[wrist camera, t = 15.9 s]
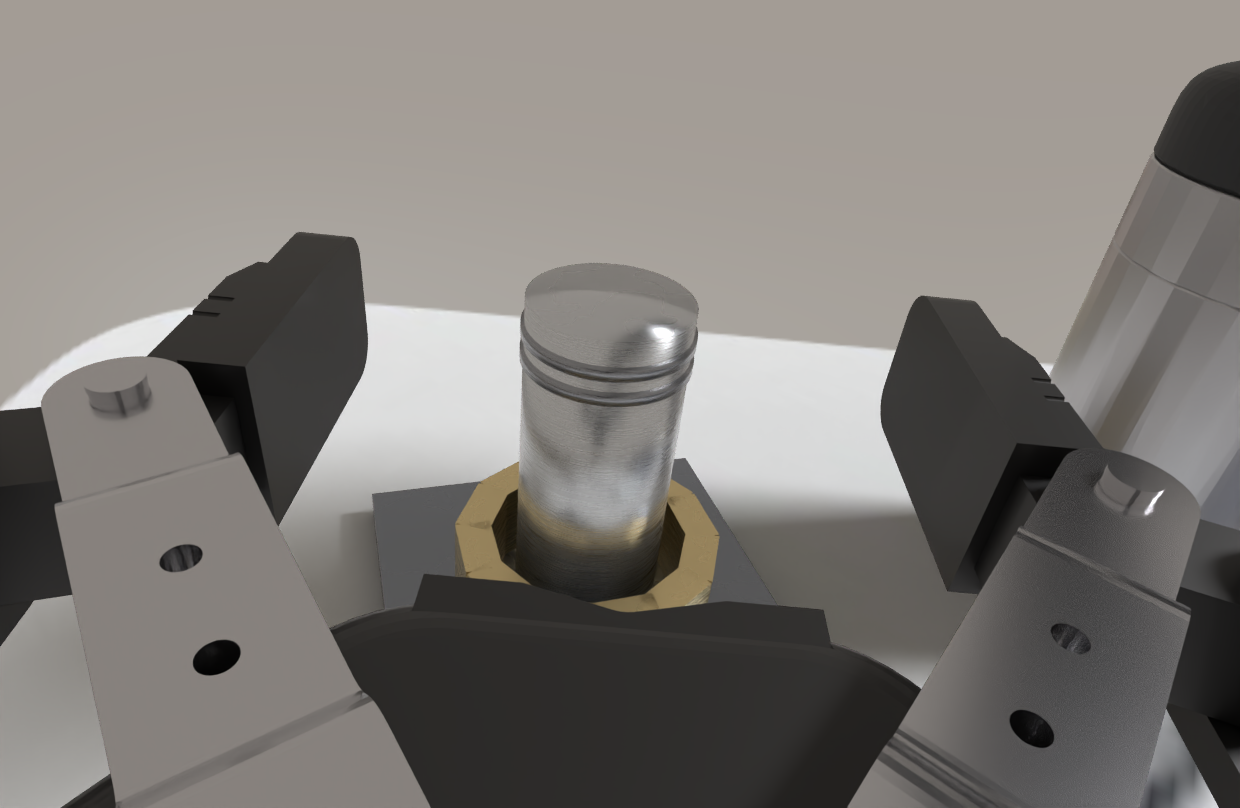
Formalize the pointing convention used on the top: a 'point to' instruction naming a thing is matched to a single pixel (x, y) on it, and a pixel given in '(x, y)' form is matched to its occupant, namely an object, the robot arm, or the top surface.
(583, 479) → the piston
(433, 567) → the ring base
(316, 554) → the top surface
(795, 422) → the top surface
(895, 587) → the top surface
